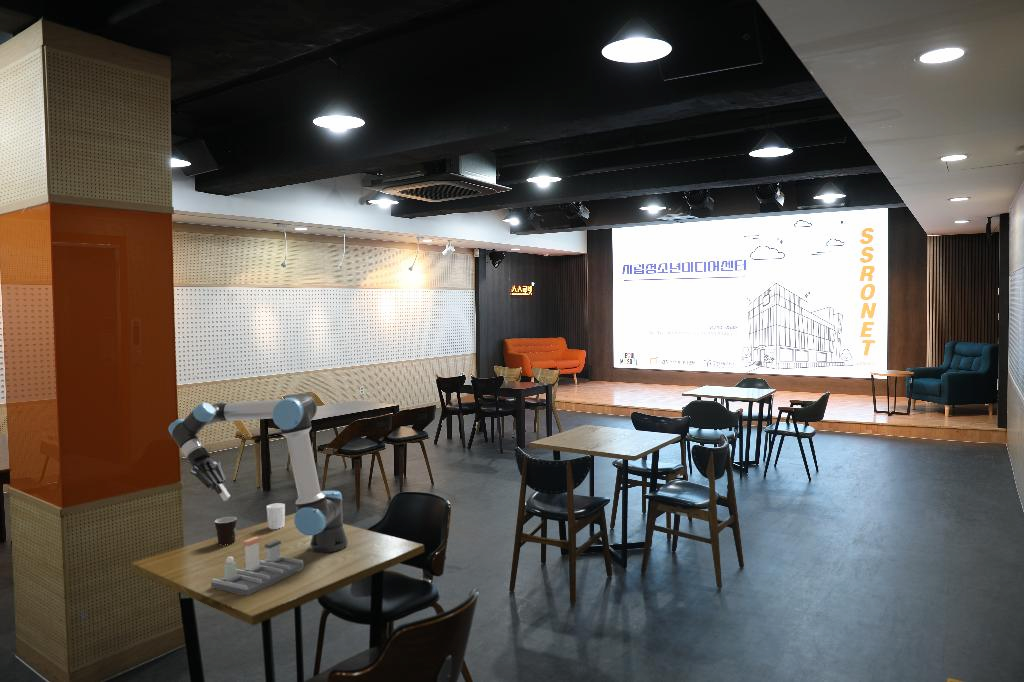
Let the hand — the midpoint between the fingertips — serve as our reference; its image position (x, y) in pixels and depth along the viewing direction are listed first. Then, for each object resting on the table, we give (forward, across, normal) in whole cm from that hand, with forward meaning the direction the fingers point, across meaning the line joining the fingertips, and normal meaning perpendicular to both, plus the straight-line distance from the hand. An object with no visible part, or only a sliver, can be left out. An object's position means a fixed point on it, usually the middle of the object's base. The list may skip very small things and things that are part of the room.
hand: (227, 498), depth 267 cm
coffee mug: (+2, -19, -35) cm, 40 cm away
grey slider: (+29, -5, -4) cm, 30 cm away
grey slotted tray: (+33, +5, -4) cm, 34 cm away
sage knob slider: (+29, +15, -4) cm, 33 cm away
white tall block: (+29, +5, -4) cm, 30 cm away
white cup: (+5, -42, -32) cm, 53 cm away
